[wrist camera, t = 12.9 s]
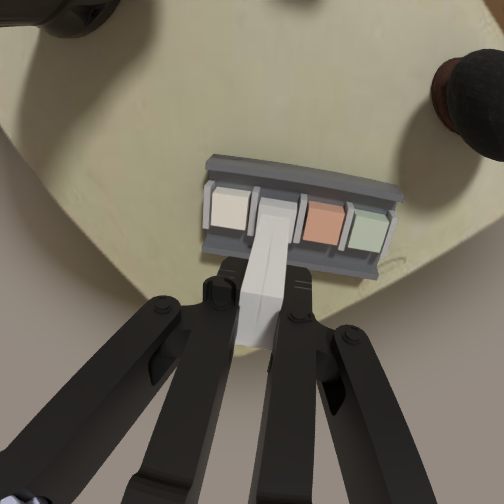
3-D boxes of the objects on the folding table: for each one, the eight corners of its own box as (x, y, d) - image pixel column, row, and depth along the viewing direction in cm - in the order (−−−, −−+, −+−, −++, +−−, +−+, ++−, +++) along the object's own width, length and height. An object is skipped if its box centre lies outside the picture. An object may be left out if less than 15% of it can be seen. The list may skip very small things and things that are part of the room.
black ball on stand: (439, 153, 37) (493, 192, 24) (411, 59, 32) (465, 55, 19) (509, 133, 33) (574, 164, 20) (488, 45, 27) (555, 45, 15)
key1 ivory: (215, 217, 44) (210, 225, 42) (217, 186, 42) (212, 193, 40) (247, 222, 44) (244, 230, 42) (251, 191, 42) (248, 197, 40)
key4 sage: (345, 238, 43) (347, 247, 41) (353, 208, 41) (356, 216, 39) (376, 243, 43) (379, 252, 41) (385, 214, 41) (389, 222, 39)
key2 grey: (257, 229, 43) (254, 237, 41) (261, 197, 40) (259, 204, 38) (291, 234, 42) (290, 243, 40) (297, 202, 40) (297, 210, 38)
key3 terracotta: (302, 231, 44) (302, 239, 42) (308, 200, 41) (309, 207, 39) (335, 236, 43) (336, 245, 41) (342, 206, 41) (344, 213, 39)
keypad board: (208, 238, 49) (201, 253, 45) (213, 154, 42) (204, 162, 38) (372, 265, 47) (377, 282, 43) (396, 185, 40) (405, 196, 37)
